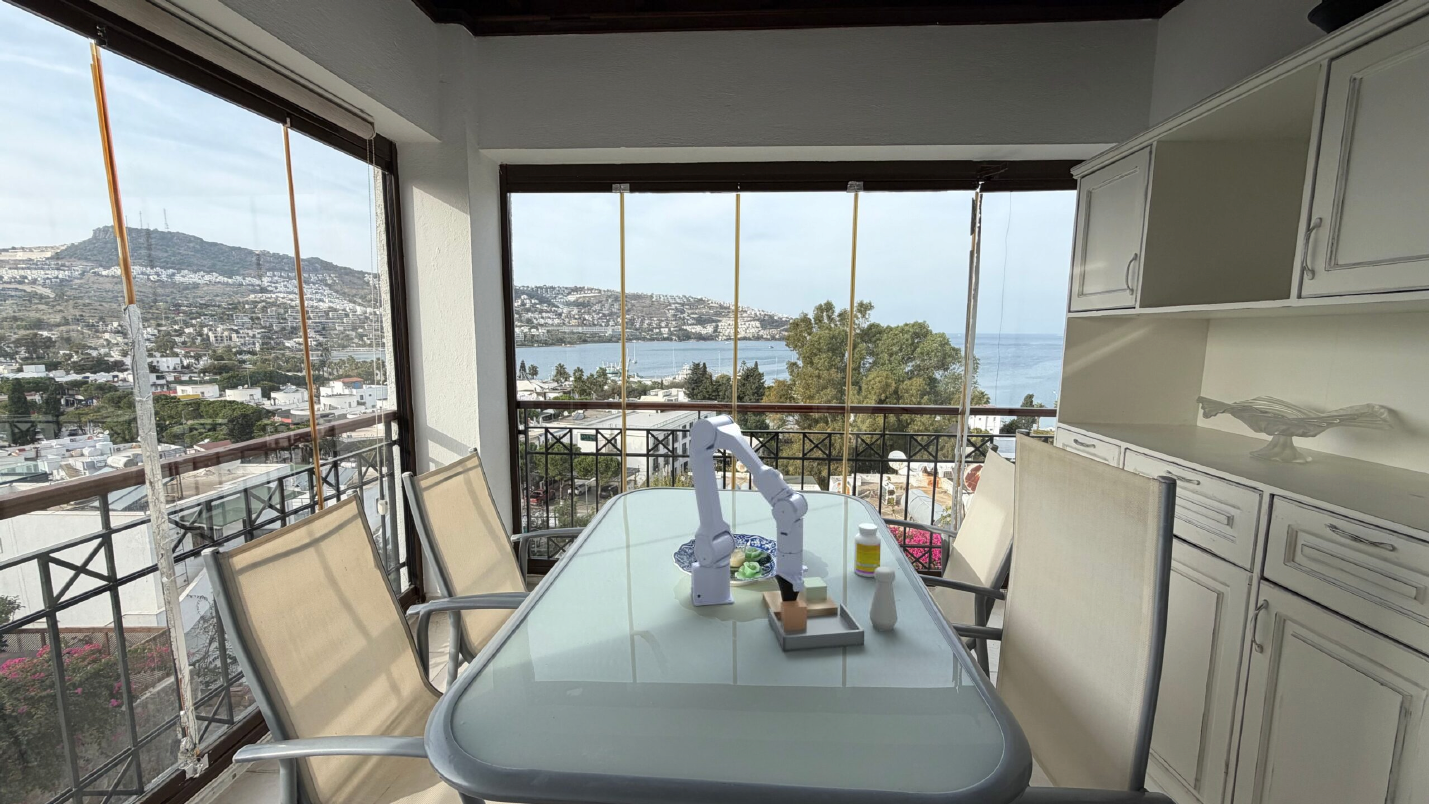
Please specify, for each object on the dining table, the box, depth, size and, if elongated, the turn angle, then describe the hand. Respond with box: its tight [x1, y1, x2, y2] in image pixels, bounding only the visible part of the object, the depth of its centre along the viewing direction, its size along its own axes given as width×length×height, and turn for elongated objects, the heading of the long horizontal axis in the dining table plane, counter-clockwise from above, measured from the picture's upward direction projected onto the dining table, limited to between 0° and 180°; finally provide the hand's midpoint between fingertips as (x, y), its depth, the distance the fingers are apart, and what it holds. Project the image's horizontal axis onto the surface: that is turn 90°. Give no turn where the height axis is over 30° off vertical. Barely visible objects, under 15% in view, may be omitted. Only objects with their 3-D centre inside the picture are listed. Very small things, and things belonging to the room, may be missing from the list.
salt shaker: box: [869, 566, 898, 632], centre depth 120 cm, size 6×6×13 cm
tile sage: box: [801, 576, 828, 600], centre depth 131 cm, size 5×5×3 cm
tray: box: [768, 602, 865, 653], centre depth 118 cm, size 17×12×3 cm
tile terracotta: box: [780, 600, 807, 631], centre depth 119 cm, size 5×5×3 cm
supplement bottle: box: [853, 523, 882, 578], centre depth 147 cm, size 7×7×13 cm
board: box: [762, 590, 839, 619], centre depth 129 cm, size 15×10×2 cm, turn 98°
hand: (788, 608), depth 123 cm, fingers closed
